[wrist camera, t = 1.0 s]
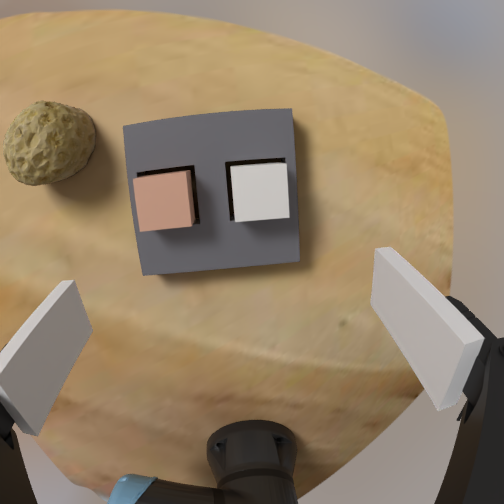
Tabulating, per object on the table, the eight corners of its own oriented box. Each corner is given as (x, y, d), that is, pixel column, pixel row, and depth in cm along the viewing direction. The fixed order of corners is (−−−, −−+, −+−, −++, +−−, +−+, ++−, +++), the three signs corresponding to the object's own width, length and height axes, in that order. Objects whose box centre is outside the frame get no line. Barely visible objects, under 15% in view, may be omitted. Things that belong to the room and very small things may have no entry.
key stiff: (195, 218, 32) (191, 226, 29) (148, 223, 32) (139, 231, 29) (190, 170, 31) (185, 171, 27) (142, 176, 30) (132, 178, 27)
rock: (81, 187, 36) (89, 199, 28) (3, 177, 29) (-13, 186, 21) (99, 114, 34) (111, 105, 26) (20, 101, 27) (9, 87, 20)
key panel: (294, 253, 37) (299, 261, 34) (148, 266, 36) (142, 275, 33) (286, 112, 32) (291, 108, 29) (131, 128, 31) (122, 126, 28)
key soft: (283, 211, 33) (289, 217, 29) (234, 215, 32) (235, 222, 29) (280, 162, 31) (286, 163, 28) (230, 166, 31) (230, 167, 27)
